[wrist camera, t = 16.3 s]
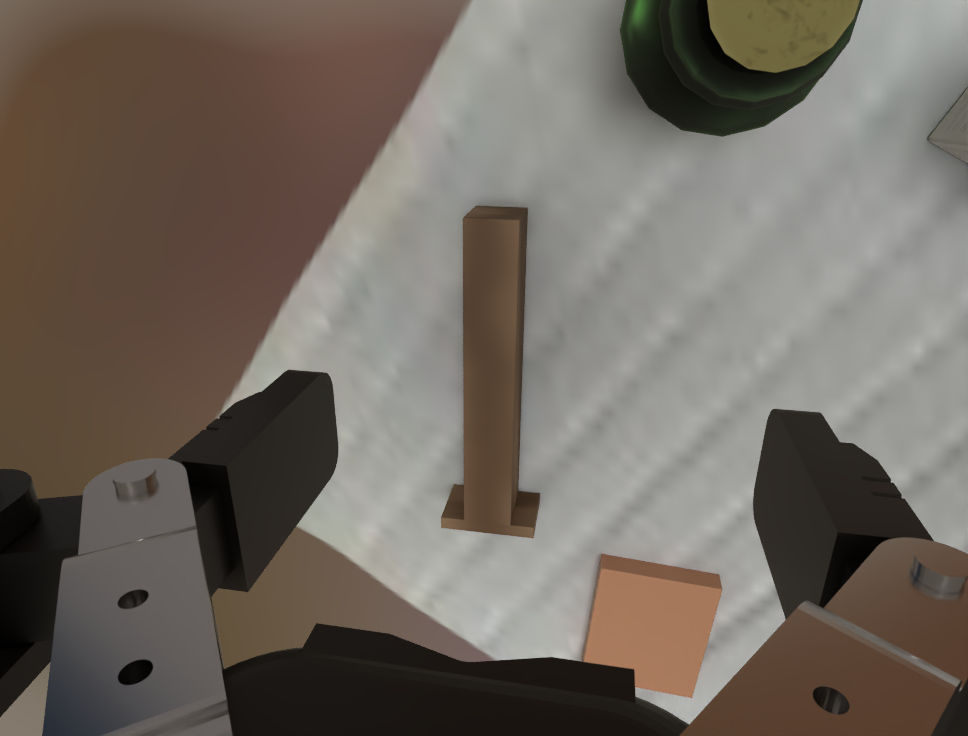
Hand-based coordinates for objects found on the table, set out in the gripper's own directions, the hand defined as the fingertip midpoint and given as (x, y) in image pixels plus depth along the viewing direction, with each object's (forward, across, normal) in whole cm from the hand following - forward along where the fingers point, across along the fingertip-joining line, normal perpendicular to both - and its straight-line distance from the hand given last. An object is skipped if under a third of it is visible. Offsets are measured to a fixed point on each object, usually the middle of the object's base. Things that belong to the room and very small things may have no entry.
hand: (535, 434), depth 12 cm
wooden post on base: (+28, +5, +10) cm, 30 cm away
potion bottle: (+28, -5, -8) cm, 30 cm away
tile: (+27, -6, +24) cm, 37 cm away
